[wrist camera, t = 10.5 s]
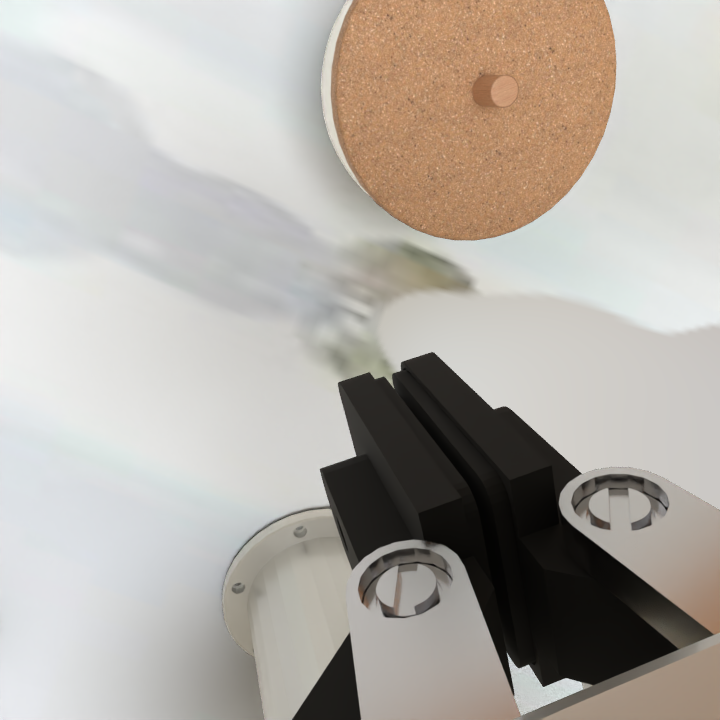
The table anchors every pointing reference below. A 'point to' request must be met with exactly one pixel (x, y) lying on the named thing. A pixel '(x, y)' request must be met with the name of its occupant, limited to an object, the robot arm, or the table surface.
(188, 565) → the table surface
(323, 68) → the lidded bowl
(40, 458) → the table surface
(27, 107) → the table surface
